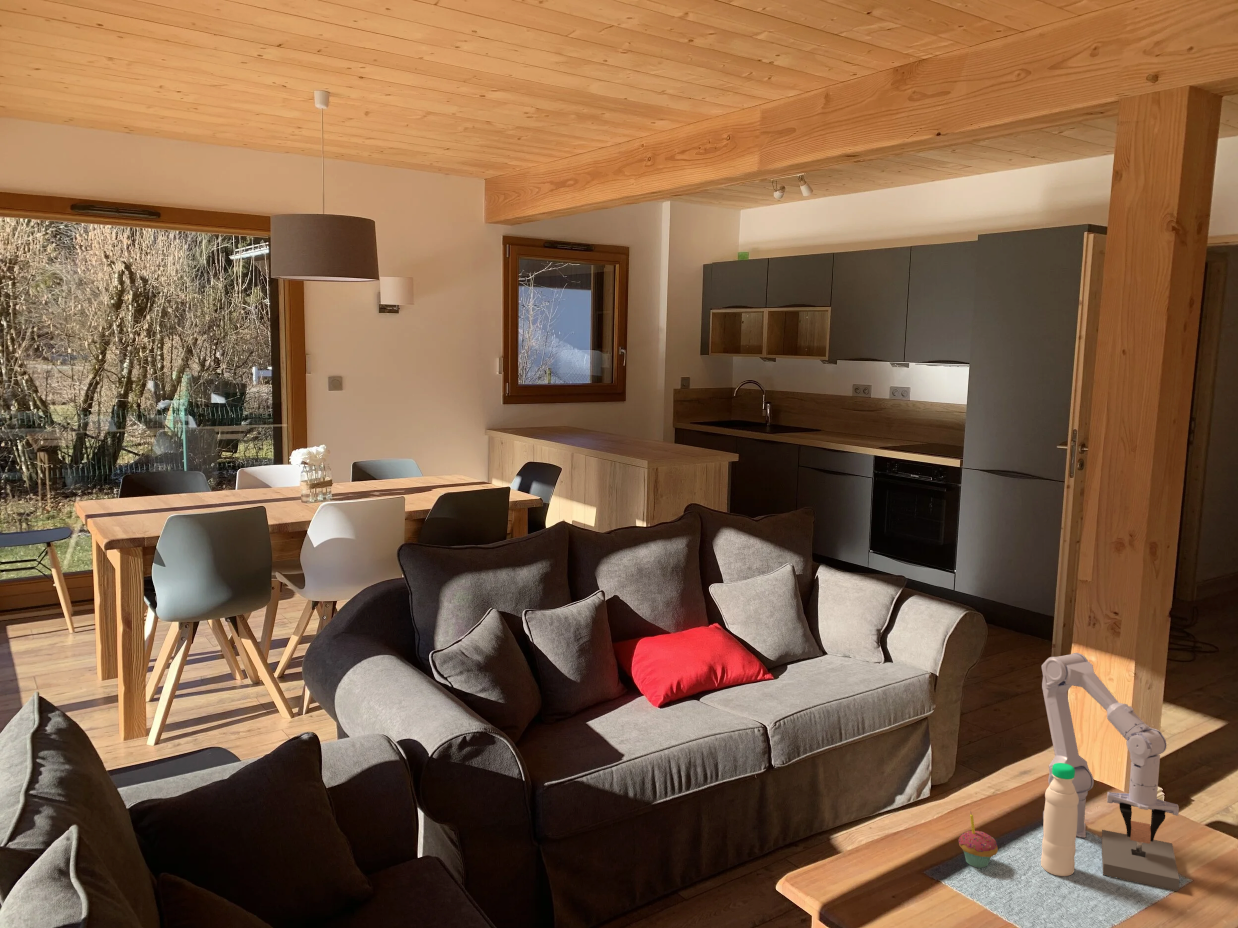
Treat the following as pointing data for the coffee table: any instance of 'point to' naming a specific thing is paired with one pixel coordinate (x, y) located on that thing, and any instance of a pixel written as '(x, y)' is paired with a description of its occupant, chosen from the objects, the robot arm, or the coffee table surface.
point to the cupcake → (977, 846)
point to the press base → (1139, 861)
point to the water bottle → (1060, 822)
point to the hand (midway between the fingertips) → (1139, 837)
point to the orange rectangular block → (1140, 834)
